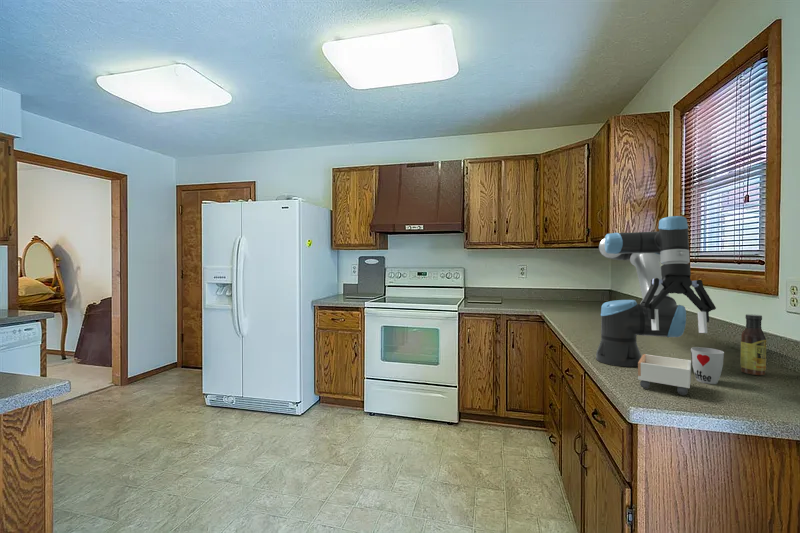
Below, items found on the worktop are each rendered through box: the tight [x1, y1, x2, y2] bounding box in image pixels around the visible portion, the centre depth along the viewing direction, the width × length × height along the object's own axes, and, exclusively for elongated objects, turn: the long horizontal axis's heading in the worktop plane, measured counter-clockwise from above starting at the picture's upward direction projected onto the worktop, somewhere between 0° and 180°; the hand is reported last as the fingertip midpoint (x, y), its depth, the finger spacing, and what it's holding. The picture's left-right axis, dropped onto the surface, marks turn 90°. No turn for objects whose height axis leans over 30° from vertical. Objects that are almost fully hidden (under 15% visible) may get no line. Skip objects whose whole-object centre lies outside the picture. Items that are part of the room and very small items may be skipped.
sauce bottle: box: [739, 313, 767, 376], centre depth 124 cm, size 6×6×20 cm
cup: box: [690, 346, 725, 385], centre depth 117 cm, size 8×8×10 cm
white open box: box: [637, 353, 692, 396], centre depth 113 cm, size 12×12×8 cm
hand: (679, 331), depth 114 cm, fingers open, 13 cm apart
